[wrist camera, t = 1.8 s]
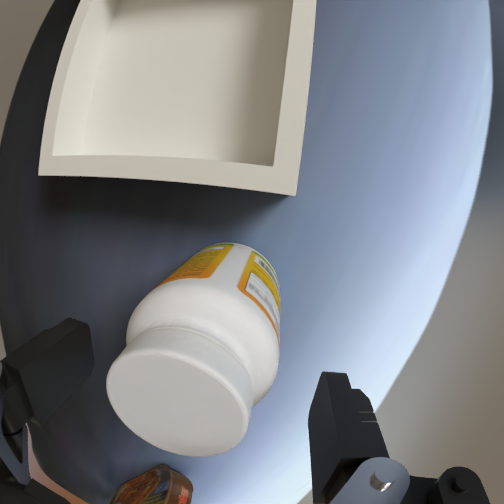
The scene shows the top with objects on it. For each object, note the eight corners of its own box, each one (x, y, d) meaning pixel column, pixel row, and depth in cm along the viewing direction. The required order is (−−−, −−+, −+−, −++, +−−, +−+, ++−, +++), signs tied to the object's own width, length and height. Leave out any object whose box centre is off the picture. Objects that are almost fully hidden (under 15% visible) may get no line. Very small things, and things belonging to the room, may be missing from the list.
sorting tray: (116, -2, 12) (92, -25, 9) (313, -11, 12) (318, -46, 8) (76, 174, 15) (38, 175, 12) (291, 193, 15) (295, 196, 11)
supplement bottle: (173, 313, 17) (85, 425, 7) (198, 226, 15) (87, 286, 6) (260, 345, 17) (239, 487, 7) (295, 261, 15) (314, 373, 6)
